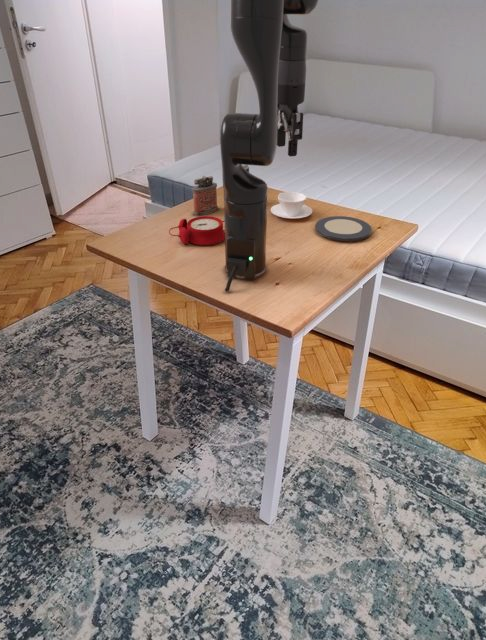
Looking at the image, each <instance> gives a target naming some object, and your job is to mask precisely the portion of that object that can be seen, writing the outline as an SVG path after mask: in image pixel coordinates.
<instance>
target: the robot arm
mask: <svg viewBox="0 0 486 640" xmlns="http://www.w3.org/2000/svg"><path fill="white" fill-rule="evenodd" d="M318 2H319V0H230V32H231V36H232V39H233V41H234V45H235V46H236V49H237V50H238V53H239V55H240V57H241V58H242V60H243V62H244V64H245V66H246V68H247V71H248V72H249V74H250V77H251V80H252V82H253V85H254V87H255V91H256V94H257V101H258V109H259V110H258V111H259V113H244V112H243V113H241V112H229V113H227V114H225V115H224V116H223V118H222V121H221V124H220V130H219V150H220V158H221V172H222V174H221V175H222V187H223V212H224V213H223V215H224V216H223V217H224V218H223V219H224V220H223V221H225V222H224V230H225V231H224V232H225V239H224V255H225V256H224V257H225V265H224V270H225V273H226V274H227V278H228V279H227V283H226V285H225V288H224V291H225V292H226V293H228V292H229V291H230V289H231V285H232V282H233V279H238V280H239V279H240V280H246V281H255V279H256V278H259V277H262V276H263V275H264V274H265V273H266V271H267V268H266V267H267V265H266V262H267V261H266V257H267V226H268V194H269V190H268V189H269V187H268V184H267V183H266V181H265V180H263V179H262V178H260V177H258V176H256V175H254V174H252V173H250V171H249V172H248V171H247V170H246V169H245V168H244V167H243V166H242V164H243V165H248V166H258V167H259V166H261V167H269V166H270V165H272V164H273V162H274V160H275V157H276V153H277V148H282V147H285V146H286V140H287V139H286V137H288V141H287V142H288V143H287V155H288V156H289V157H296V156H297V155H298V144H299V143H298V142H299V140H301V141H302V140H303V132H304V130H303V129H304V113H303V112H299V109H298V108H299V107H298V106H299V105H301V104H304V102H305V96H306V95H305V94H306V83H307V82H306V81H307V80H306V79H307V49H308V47H307V44H308V32H307V31H306V29H304V28H302V27H299V26H295V25H294V24H292V23H291V21H290V20H289V17H288V16H289V15H291V16H292V15H293V16H295V15H297V16H307V15H310V14H311V13H312V12H314V11H315V9H316V8H317V6H318Z"/></svg>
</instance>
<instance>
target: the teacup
mask: <svg viewBox="0 0 486 640" xmlns="http://www.w3.org/2000/svg"><path fill="white" fill-rule="evenodd" d="M277 199H278V202H279V203H277V204H274V205H272V206H271V207H270V212H271V214H273V215H274V216H275V217H279V218H283V219H291V220H292V219H304V218H306V217H309V216H310V215H312V213H313V208H311V207H310V206H309V205H306V204H305V203H306V201H307V195H306V194H305V193H301V192H297V191H285V192H279V194H278V195H277Z"/></svg>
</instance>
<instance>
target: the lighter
mask: <svg viewBox="0 0 486 640" xmlns="http://www.w3.org/2000/svg"><path fill="white" fill-rule="evenodd" d="M213 181H214V176H212V175H209V176H206V175H203V176H202V177H199V178H195V179H194V185H195V186H193V187H192V188H191V191H192V195H193V215H194V216H196V217H201V216H206V215H208V214H212V213H214V212H216V211H218V210H219V209H218V208H219V206H218V194H217V187H218V183H217V182H213Z"/></svg>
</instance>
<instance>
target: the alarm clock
mask: <svg viewBox="0 0 486 640" xmlns="http://www.w3.org/2000/svg"><path fill="white" fill-rule="evenodd" d="M224 223H225V220H222V219H221V218H219V217H216V216H211V215H210V216H209V215H201V216H196V217H193V218H191V219H189V220H187V219H186V218H181V219H180V221H179V223H178V225H177V226H174V227H171V228H169V230H168V234H169V235H170V236H171V237H178V238H179V240H180V242H181V243H182V244H183V245H188V244H189V243H190V244H193V245H197V246H211V245H216V244H219V243H222V242H223V241H225V229H224ZM173 229H178V234H172V233H171V230H173Z"/></svg>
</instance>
